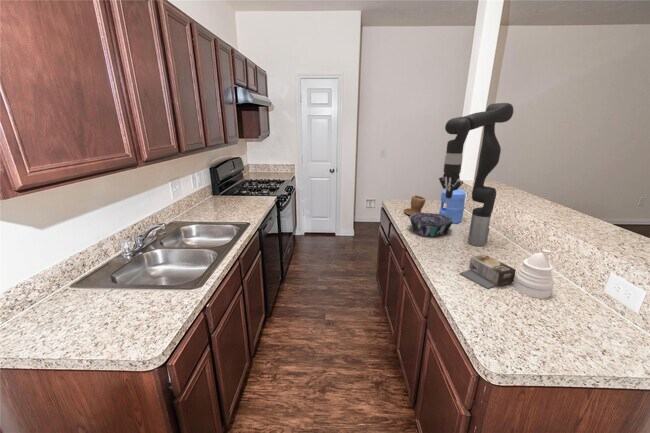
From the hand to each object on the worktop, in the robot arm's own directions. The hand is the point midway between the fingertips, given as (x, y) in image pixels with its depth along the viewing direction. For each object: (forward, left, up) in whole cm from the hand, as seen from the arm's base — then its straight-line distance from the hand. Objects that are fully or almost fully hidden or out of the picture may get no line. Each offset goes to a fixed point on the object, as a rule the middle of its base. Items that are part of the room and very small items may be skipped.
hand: (448, 198), depth 139 cm
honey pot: (-8, +40, -31) cm, 52 cm away
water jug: (-49, -38, -31) cm, 69 cm away
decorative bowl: (-21, -29, -31) cm, 48 cm away
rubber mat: (+1, +26, -31) cm, 40 cm away
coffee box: (-3, +18, -27) cm, 33 cm away
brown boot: (-35, -59, -31) cm, 75 cm away
